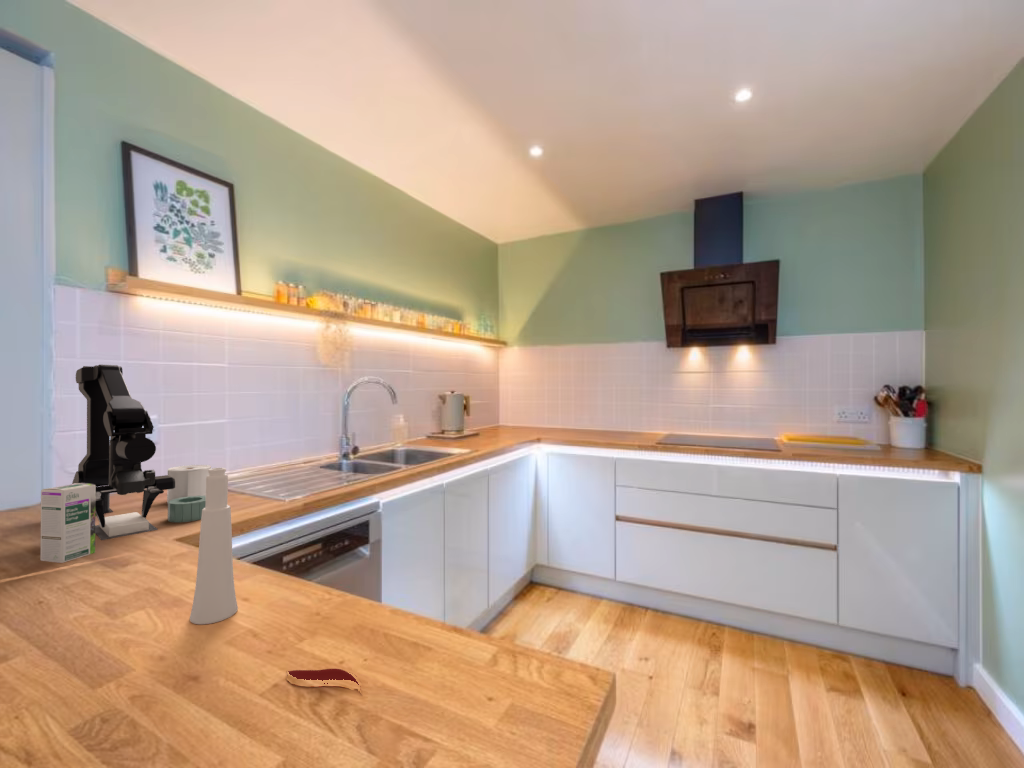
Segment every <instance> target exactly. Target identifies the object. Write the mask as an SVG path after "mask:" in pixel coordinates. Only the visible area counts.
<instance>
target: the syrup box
mask: <svg viewBox="0 0 1024 768" xmlns="http://www.w3.org/2000/svg"><path fill="white" fill-rule="evenodd" d="M95 503H96V485H95V484H89V483H74V484H72V483H71V484H65V485H61V486H60V485H59V486H55V487H47V488H43V489H41V491H40V557H39V558H40V561H41V562H50V563H60V564H63V563H66V562H69V561H73V560H77V559H79V558H82V557H86V556H90V555H92V554H95V553H96V533H95V525H96V515H95Z"/></svg>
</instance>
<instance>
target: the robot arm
mask: <svg viewBox="0 0 1024 768" xmlns="http://www.w3.org/2000/svg"><path fill="white" fill-rule="evenodd" d="M123 374H124V373H123V367H122V366H119V365H117V364H98V365H93V366H90V365H89V366H88V365H83V367H80V368H79V369H77V370H76V371H75V382H76V384H78V391H79V392H80V393H81V394H82V395H83V397H84V398H85V399H86V454H85V455H84V457H83V458H82V459H81V460H80V462H79V463H78V465H77V471H76V472H75V474H74V477H73V479H72V482H71V484H74V483H89V484H95V485H96V503H95V516H96V517H97V520H98V522H100V524H101V526H102V528H103V527H105V517H106V516H105V514H110V513H113V512H114V511H113V509H112V508H110V507H111V506H110V503H111V502H110V500H111V499H110V496H111V494H114V493H116V494H117V495H119V496H126V495H129V494H134V493H137V494H140V493H143V495H142V505H141V506H142V507H141V516H143V517H144V518H145V519H147V516H148V514H149V512H150V509H151V507H152V505H153V503H154V501H155V500H156V498H157V497H158V496H159V495H160V494H164V492H165V490H166V491H167V489H174V488H175V479H174V478H172V477H170V476H168V474H165V475H157V476H156V471H155V469H146V470H144V471H143V470H142V463H143V462H144V463H145V462H146V461H149V460H150V459H151V458H153V457H154V455H155V453H156V451H157V446H156V444H155V442H154V441H153V440H152V439H150V438H148V437H146V436H147V435H152V434H153V430H154V427H155V426H154V424H153V421H152V419H151V416H150V414H149V412H148V411H147V410H146V409H145V407H144V405H143V404H142V402H141V401H138V400H137V399H134V398H133V397H132V396H131V393H130V390H129V389H128V386H127V383H126V381H125V379H124V375H123Z"/></svg>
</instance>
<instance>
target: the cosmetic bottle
mask: <svg viewBox="0 0 1024 768" xmlns="http://www.w3.org/2000/svg"><path fill="white" fill-rule="evenodd" d="M226 472H227V468H226V467H214V468H212V467H211V469H209V470H208V473H209V475H208V476H207V477H206V506H205V508H203V509H202V516H201V519H200V531H199V539H198V540H199V543H198V545H199V546H198V557H197V566H196V567H197V570H196V578H195V579H196V580H195V587H194V588H195V589H194V596H193V601H192V604H191V605H192V607H191V611H190V616H189V621H190V623H192V624H194V625H210V624H211V625H212V624H214V623H218V622H222V621H225V620H226V619H229V618H231V617H232V616H234V615H235V614H236V613H237V611H238V609H239V607H238V601H237V597H236V596H237V595H236V589H235V578H234V563H233V560H234V559H233V533H232V532H233V531H232V530H233V529H232V510H231V505H229V504H228V497H229V496H228V495H229V493H228V490H229V476H228V474H227V473H226Z"/></svg>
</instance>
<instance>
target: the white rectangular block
mask: <svg viewBox="0 0 1024 768" xmlns="http://www.w3.org/2000/svg"><path fill="white" fill-rule="evenodd" d="M104 517H105V527H103V528H102V526H101V524H100V522H99V521H98V522H99V523H98V525H99V526H100V528H101V529H102V530H103V531H104V532H105V533H106V534H107V535H108V536H109V537H112V536H117V535H122V534H128V533H133V532H138V531H144V530H149V523H150V521H149V520H148V519H147V518H146V519H145V518H144V517H143V516H142V514H140V513H139V512H137V511H136V512H135V511H133V512H127V513H122V514H115V515H110V516H104Z"/></svg>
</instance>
